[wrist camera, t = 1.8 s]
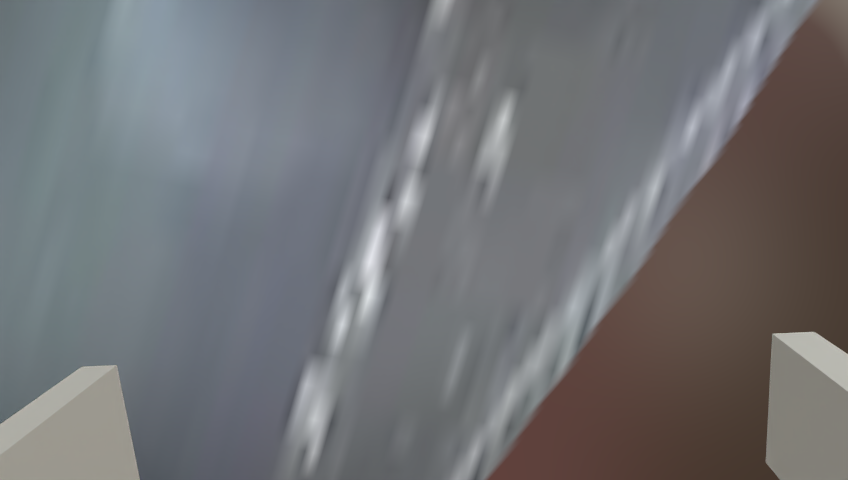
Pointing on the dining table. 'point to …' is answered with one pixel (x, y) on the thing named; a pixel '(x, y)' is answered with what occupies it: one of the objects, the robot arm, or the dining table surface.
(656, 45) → the dining table surface
